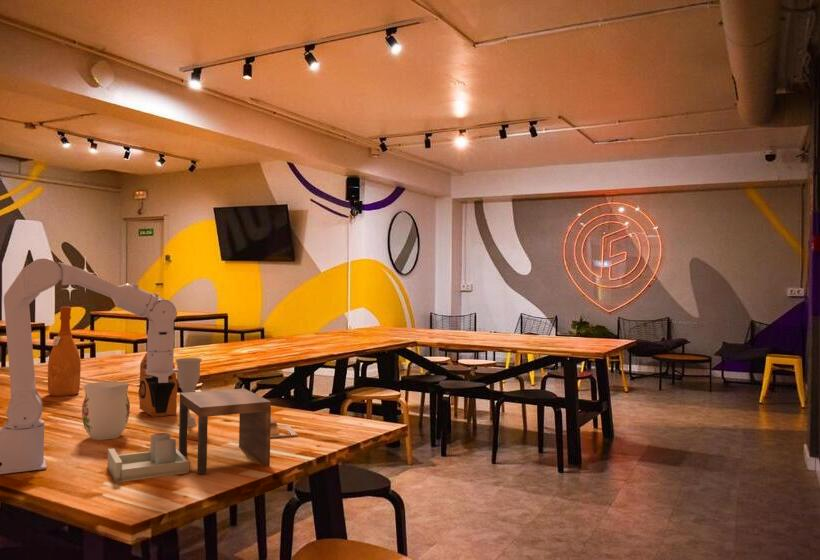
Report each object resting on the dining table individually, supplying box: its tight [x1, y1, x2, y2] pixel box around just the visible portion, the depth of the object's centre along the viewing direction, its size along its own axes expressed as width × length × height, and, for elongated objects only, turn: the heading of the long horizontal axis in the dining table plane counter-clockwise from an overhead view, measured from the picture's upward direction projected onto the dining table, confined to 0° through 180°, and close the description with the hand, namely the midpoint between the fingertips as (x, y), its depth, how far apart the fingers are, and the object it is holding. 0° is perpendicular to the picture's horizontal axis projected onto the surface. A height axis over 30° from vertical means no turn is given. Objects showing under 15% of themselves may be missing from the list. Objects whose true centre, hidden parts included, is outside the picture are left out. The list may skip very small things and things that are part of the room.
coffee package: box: [137, 352, 178, 418], centre depth 193 cm, size 10×12×22 cm
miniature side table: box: [178, 387, 272, 477], centre depth 144 cm, size 15×19×14 cm
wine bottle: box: [47, 305, 82, 397], centre depth 220 cm, size 10×10×30 cm
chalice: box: [175, 357, 202, 428], centre depth 178 cm, size 7×7×18 cm
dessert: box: [270, 417, 298, 439], centre depth 170 cm, size 12×12×5 cm
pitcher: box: [81, 381, 131, 441], centre depth 164 cm, size 11×18×14 cm, turn 34°
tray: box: [107, 432, 190, 483], centre depth 136 cm, size 14×12×6 cm
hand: (159, 409), depth 149 cm, fingers open, 7 cm apart
